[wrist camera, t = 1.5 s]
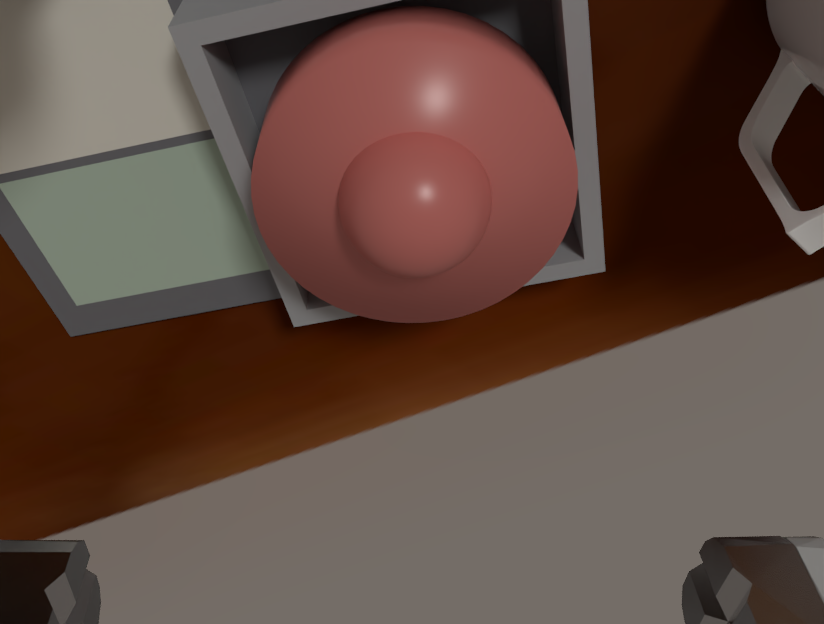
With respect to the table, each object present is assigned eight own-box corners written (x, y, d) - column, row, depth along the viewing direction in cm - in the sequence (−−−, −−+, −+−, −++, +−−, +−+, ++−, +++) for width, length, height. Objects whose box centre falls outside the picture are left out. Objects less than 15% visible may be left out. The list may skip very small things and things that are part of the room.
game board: (546, -559, 19) (580, -601, 16) (600, 234, 34) (624, 300, 31) (-345, -286, 22) (-479, -271, 19) (72, 332, 37) (41, 402, 34)
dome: (547, -29, 25) (580, 40, 20) (573, 247, 32) (602, 342, 28) (215, 46, 26) (182, 126, 22) (312, 295, 33) (301, 392, 29)
